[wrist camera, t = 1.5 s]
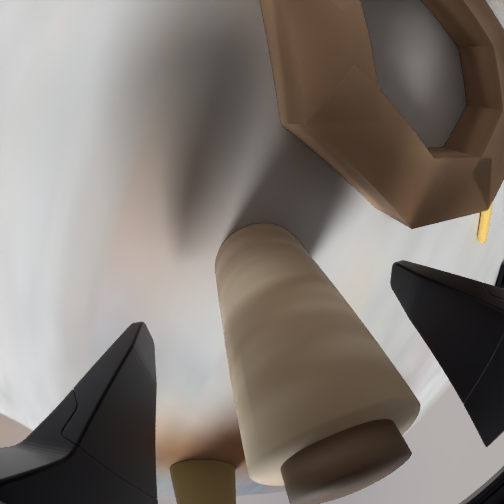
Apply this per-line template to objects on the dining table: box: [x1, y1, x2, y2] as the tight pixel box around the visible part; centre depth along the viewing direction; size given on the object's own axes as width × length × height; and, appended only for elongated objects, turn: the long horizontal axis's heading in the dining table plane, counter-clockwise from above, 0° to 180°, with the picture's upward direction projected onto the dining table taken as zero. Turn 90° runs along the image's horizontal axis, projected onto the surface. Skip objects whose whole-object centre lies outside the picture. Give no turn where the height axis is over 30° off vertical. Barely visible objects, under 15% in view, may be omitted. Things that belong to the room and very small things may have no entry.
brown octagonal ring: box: [259, 0, 504, 229], centre depth 7 cm, size 13×13×2 cm
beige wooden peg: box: [215, 223, 420, 504], centre depth 7 cm, size 4×4×9 cm
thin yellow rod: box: [477, 204, 492, 243], centre depth 11 cm, size 1×8×1 cm, turn 9°
